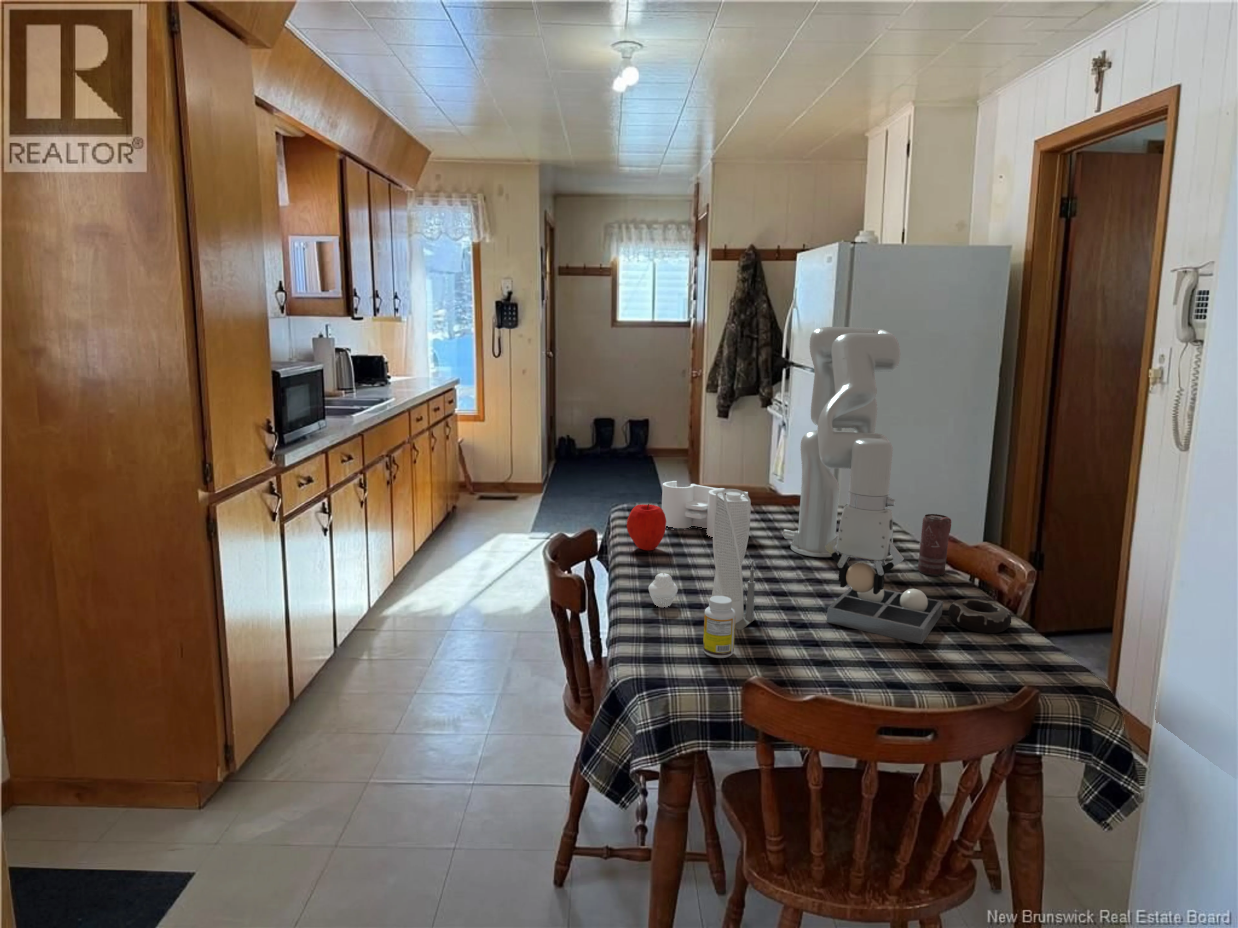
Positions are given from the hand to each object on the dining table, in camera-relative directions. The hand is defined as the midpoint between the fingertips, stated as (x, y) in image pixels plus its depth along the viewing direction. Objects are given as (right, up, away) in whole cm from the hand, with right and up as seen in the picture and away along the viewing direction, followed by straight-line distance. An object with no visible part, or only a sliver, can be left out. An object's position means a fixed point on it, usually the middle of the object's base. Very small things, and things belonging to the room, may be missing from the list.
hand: (860, 588), depth 162 cm
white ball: (+12, -6, +4) cm, 14 cm away
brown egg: (0, -1, 0) cm, 1 cm away
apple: (-42, +3, +46) cm, 62 cm away
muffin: (-39, -5, +7) cm, 40 cm away
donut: (+24, -8, +1) cm, 26 cm away
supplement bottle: (-31, -9, -16) cm, 36 cm away
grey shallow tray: (+6, -7, +3) cm, 9 cm away
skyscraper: (-27, -7, -1) cm, 28 cm away
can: (+27, -1, +33) cm, 43 cm away
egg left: (+5, -5, +9) cm, 11 cm away
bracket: (-25, +6, +65) cm, 70 cm away
